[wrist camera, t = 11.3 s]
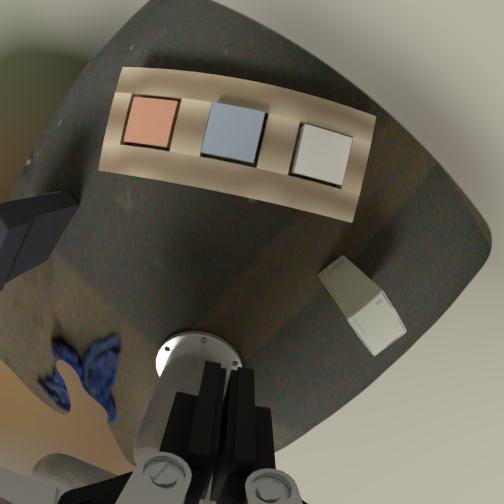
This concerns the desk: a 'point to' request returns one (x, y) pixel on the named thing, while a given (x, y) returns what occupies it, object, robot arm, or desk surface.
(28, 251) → the calculator
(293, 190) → the key console
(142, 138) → the terracotta key
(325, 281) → the skincare box
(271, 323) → the desk surface
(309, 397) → the desk surface
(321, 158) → the offwhite key
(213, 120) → the slate key
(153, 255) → the desk surface
